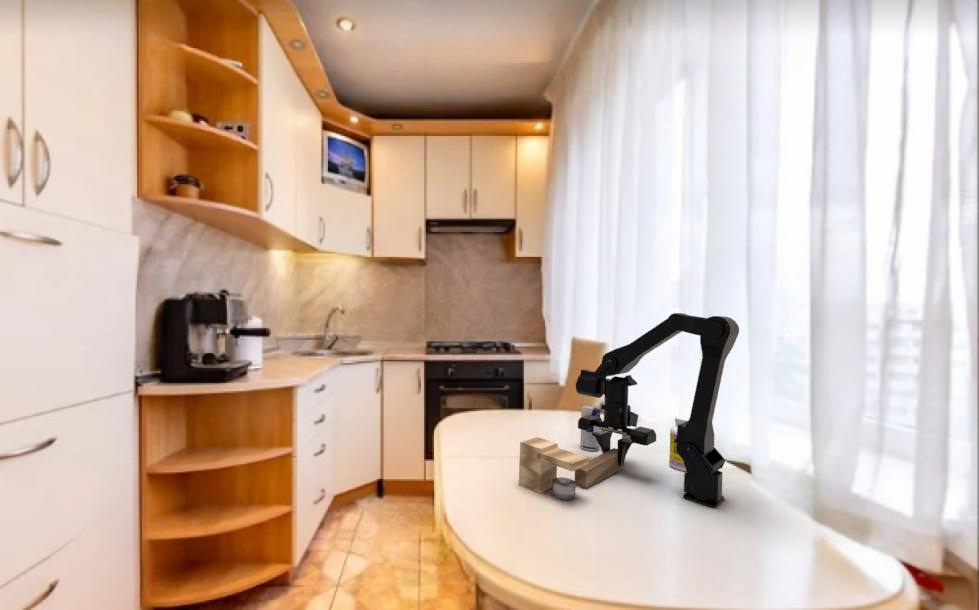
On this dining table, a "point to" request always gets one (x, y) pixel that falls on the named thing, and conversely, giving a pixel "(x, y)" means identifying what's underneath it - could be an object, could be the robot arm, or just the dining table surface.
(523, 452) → the l-shaped wooden block
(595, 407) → the energy drink
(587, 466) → the batten
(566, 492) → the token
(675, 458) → the supplement bottle
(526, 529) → the dining table surface
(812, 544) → the dining table surface
